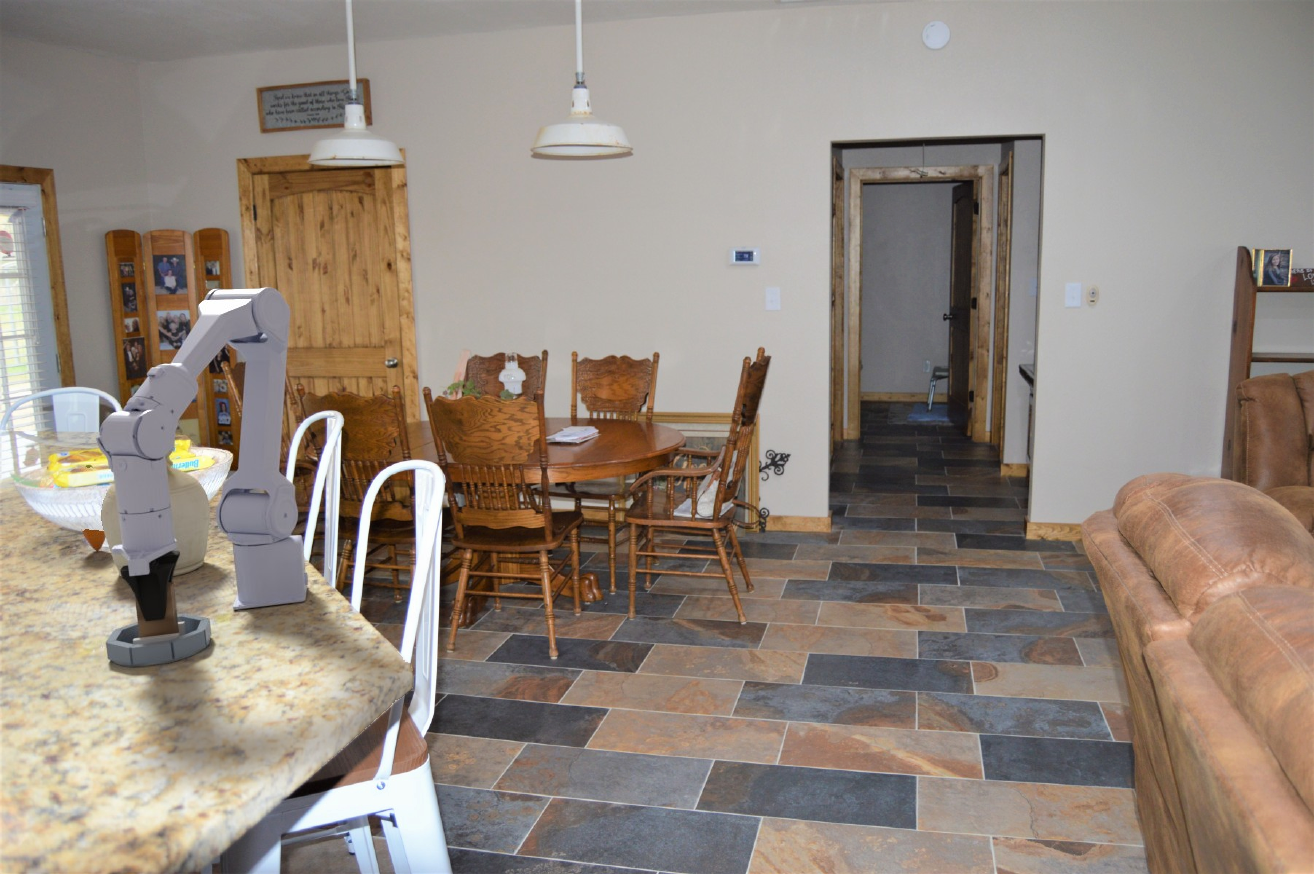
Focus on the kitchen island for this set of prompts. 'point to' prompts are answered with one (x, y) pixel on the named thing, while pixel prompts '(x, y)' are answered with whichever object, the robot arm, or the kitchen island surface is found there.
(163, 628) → the wooden rectangular block
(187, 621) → the blue-grey octagonal tray
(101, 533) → the carrot
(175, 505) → the jug
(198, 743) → the kitchen island surface
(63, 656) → the kitchen island surface
